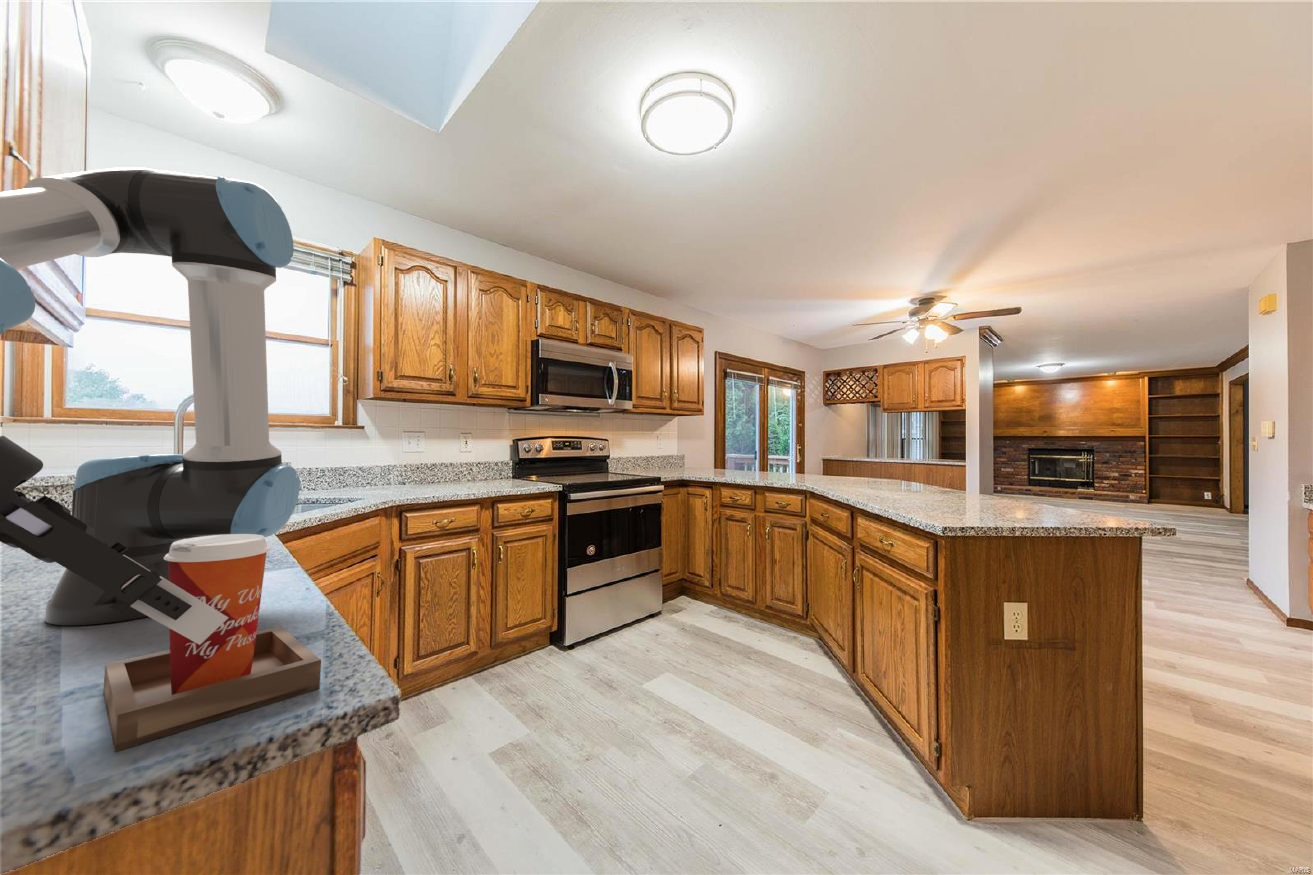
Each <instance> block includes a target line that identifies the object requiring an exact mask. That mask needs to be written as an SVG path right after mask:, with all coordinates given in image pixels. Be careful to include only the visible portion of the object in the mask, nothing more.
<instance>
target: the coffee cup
mask: <svg viewBox="0 0 1313 875" xmlns="http://www.w3.org/2000/svg"><path fill="white" fill-rule="evenodd" d="M271 550H272V549H271V546H269V545H268V543H267V540H266V537H264V536H263V535H256V534H226V535H213V536H203V537H195V538H188V539H183V540H179V541H175V542H173V543H172V544H171V547H170V550H169V553H168V554H166V555H165V557H164V560H166V561H168V569H169V581H170V582H171V583H173V584H175V585H176V586H178V587H179V588H181V589H183V590H184V591H186V592H188V593H189V594H191V595H192V596H194V597H196V598H197V599H199V600H201V601H202V602H204V603H205V604H207V605H209V606H210V607H212V608H214V609H215V610H217V611H219V612H220V613H222V614H223V615H225V616H227V617H228V619H227V620H226V621H225V622H224V623H223V624H221V625H220V626H219V627H218V628H217V629H216V630H215V631H214V632H213V633H212V634H211V635H210V636H209V637H208V638H207V639H206V640H204V641H203V642H202V643H201V644H200V645H199V644H197V643H195V642H194V641H192V640H190V639H188V638H186V637H185V636H183V635H181V634H179V633H177V632H176V631H174V630H172V629H170V628H168V629H169V650H170V674H171V691H172V695H174V694H178V693H182V692H185V691H189V690H193V689H197V688H200V687H204V686H208V685H212V684H216V683H219V682H223V681H227V680H231V679H234V678H238V677H242V676H246V675H250V674H251V669H252V663H253V656H254V648H255V641H256V633H257V631H258V623H259V618H260V617H259V615H260V609H261V600H262V599H261V598H262V592H263V582H264V577H265V576H264V575H265V568H266V562H267V561H266V560H267V553H268V552H270V551H271Z"/></svg>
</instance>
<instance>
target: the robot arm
mask: <svg viewBox="0 0 1313 875" xmlns="http://www.w3.org/2000/svg"><path fill="white" fill-rule="evenodd" d="M111 254H143V255H153V256H164V257H171V266H172V267H173V268H174V270H176V271H177V272H179V274H180V275H182V276H183V277H184V278H185V279H186V281H187V291H188V292H187V293H188V308H189V309H188V312H189V313H188V314H189V332H190V352H191V371H192V372H191V373H192V390H193V391H192V392H193V394H192V395H193V411H194V432H195V433H194V434H195V444H194V445H193V446H192V447H191V448H190V449H189V450H187V451H186V452H185V453H184V454H183V453H170V454H168V453H165V454H164V453H163V454H149V455H147V454H146V455H130V456H129V455H128V456H127V455H126V456H117V457H114V456H113V457H105V458H96V459H90V460H88V461H85V462H83V463H82V464H81V465H80V466H79V467H78V468H77V469H76V476H75V480H74V486H73V487H72V488H71V491H72V492H71V493H72V501H71V503H72V504H71V505H72V506H71V510H70V508H68V507H65V505H63V504H61V503H60V502H58V501H56V500H55V499H53V498H52V497H49V496H47V495H42V496H41V497H40V498H37V499H36V500H34V499H33V500H31V499H30V498H28V497H27V494H25V493H24V492H22V491H18V490H15V489H16V488H18V487H19V486H20V485H22V484H24V483H27V482H28V481H30V480H31V479H32V478H33V477H35V475H38V473H39V472H41V470H42V469H43V468H44V462H43V461H42V460H41V458H38V457H37V456H36V455H33V454H32V453H30V452H29V451H28V450H26V449H24V448H23V447H21V446H20V445H19V444H17V443H16V442H14V441H12V440H11V439H9V438H8V437H6V436H5V435H1V436H0V543H2V544H5V545H7V546H9V547H11V548H14V549H20V550H21V551H23V552H26V553H27V554H29V555H30V556H32V557H34V558H35V559H38V560H40V561H43V562H44V563H47V564H52V563H56V564H58V565H60V566H62V567H63V568H65V570H64V572H63V573H62V576H60V579H59V581H58V583H57V585H56V588H55V589H54V591H53V593H52V596H51V598H50V599H49V600H48V601H47V603H46V606H45V618H44V621H45V622H46V623H47V624H50V625H56V626H86V625H87V626H88V625H99V624H109V623H117V622H122V621H123V622H124V621H128V620H130V621H131V620H135V619H140V618H145V617H149V618H150V619H152V620H154V621H156V622H158V623H159V624H161V625H162V626H165V627H167V628H168V629H169V628H170V629H172V630H174V631H176V632H177V633H179V634H181V635H183V636H185V637H186V638H188V639H190V640H192V641H194V642H195V643H197V644H199V645H200V644H201V643H202V642H203V641H204V640H206V639H207V638H208V637H209V636H210V635H211V634H212V633H213V632H214V631H215V630H216V629H217V628H218V627H219V626H220V625H221V624H223V623H224V622H225V621H226V620H227V619H228V617H227V616H225V615H223V614H222V613H220V612H219V611H217V610H215V609H214V608H212V607H210V606H209V605H207V604H205V603H204V602H202V601H201V600H199V599H197V598H196V597H194V596H192V595H191V594H189V593H188V592H186V591H184V590H183V589H181V588H179V587H178V586H176V585H175V584H173V583H171V582H170V581H169V569H168V561H166V560H164V557H165V555H166V554H168V553H169V550H170V547H171V544H172V543H173V542H175V541H179V540H183V539H188V538H195V537H203V536H213V535H226V534H256V535H263V536H264V538H268V537H272V536H273V535H275V534H276V533H278V532H279V531H280V530H282V529H283V528H284V527H285V525H287V523H288V522H289V520H290V518H291V516H292V515H293V513H294V511H295V509H296V507H297V504H298V500H299V496H300V495H299V494H300V489H301V488H300V486H301V482H300V477H299V476H300V475H298V473H297V472H298V471H297V470H296V469H295V468H294V467H293V466H289V465H288V464H283V462H282V461H283V460H282V451H281V450H280V449H279V448H277V447H276V446H274V445H273V444H272V443H271V441H270V429H269V428H270V427H269V426H270V424H269V400H268V399H269V397H268V396H269V395H268V393H269V392H268V368H267V367H268V366H267V337H266V336H267V333H266V311H265V310H266V307H265V306H266V304H265V291H266V289H268V288H269V287H270V286H271V285H273V284H274V283H275V282H276V281H277V269H281V268H283V267H286V266H288V265H289V264H290V263H291V262H292V258H293V255H294V239H293V234H292V229H291V227H290V223H289V220H288V219H287V216H286V214H285V212H284V210H283V208H282V207H281V205H280V203H278V201H277V200H276V198H275V197H274V196H273V195H272V194H271V193H270V192H269V191H268V190H267V189H265V188H264V187H263V186H261V185H260V184H257V183H254V182H252V181H245V180H239V179H234V178H231V177H228V176H225V175H222V176H214V175H213V176H212V175H204V174H203V175H202V174H194V173H186V172H177V171H170V170H161V169H159V170H158V169H154V168H147V167H133V166H132V167H129V166H128V167H113V168H105V169H104V168H103V169H95V170H94V169H93V170H87V171H79V172H72V173H71V172H70V173H64V174H57V175H55V174H54V175H48V176H47V175H46V176H39V177H36V178H35V177H34V178H32V179H31V180H28V182H26V183H25V184H24V185H23V187H22V189H14V190H5V191H0V336H1V335H2V334H3V333H4V332H6V331H8V330H10V329H12V328H15V327H16V326H19V325H22V324H23V323H25V322H26V321H28V320H29V319H30V318H32V316H33V314H34V312H35V309H36V296H35V295H34V292H33V291H32V290H31V287H30V285H29V284H28V282H27V280H26V279H25V278H24V276H23V275H22V274H21V273H20V272H19V271H18V269H22V268H26V267H30V266H34V265H37V264H41V263H45V262H51V261H53V260H57V259H61V258H64V257H68V256H72V255H77V256H80V257H85V258H99V257H104V256H109V255H111Z"/></svg>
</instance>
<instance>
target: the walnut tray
mask: <svg viewBox="0 0 1313 875" xmlns="http://www.w3.org/2000/svg"><path fill="white" fill-rule="evenodd" d="M321 668H322V659H321V658H320V657H319V656H317V655H316V654H315V653H314V652H312V651H311V650H310V649H309V648H308V647H306V646H305V645H304V644H303V643H301V642H300V641H299V640H298V639H297V638H296V637H295V636H293V635H292V634H291V633H289V632H288V631H287V630H286V629H285V628H284V627H282V626H276V627H271V628H267V629H261V630H257V633H256V641H255V648H254V656H253V663H252V669H251V674H250V675H246V676H242V677H238V678H234V679H231V680H227V681H223V682H219V683H216V684H212V685H208V686H204V687H200V688H197V689H193V690H189V691H185V692H182V693H178V694H174V695H172V691H171V674H170V649H168V650H162V651H158V652H154V653H153V652H152V653H148V654H144V655H140V656H139V655H138V656H135V657H130V658H125V659H121V660H115V661H111V662H107V663H105V664H104V677H103V679H104V680H103V694H102V695H103V698H104V704H105V709H106V714H107V719H108V723H109V729H110V733H111V738H112V743H113V747H114V752H120V751H123V750H127V749H129V748H133V747H136V746H139V745H141V744H145V743H149V742H153V741H155V740H159V739H161V738H164V737H168V736H171V735H175V734H178V733H181V732H184V731H187V730H190V729H194V728H197V727H200V726H204V725H207V724H210V723H213V722H216V721H219V720H223V719H226V718H230V717H233V716H235V715H238V714H243V713H245V712H248V711H252V710H256V709H258V708H262V707H264V706H268V705H271V704H274V703H278V702H280V701H281V702H282V701H284V700H287V699H290V698H294V697H298V696H300V695H304V694H306V693H309V692H313V691H316V690H319V689H321V687H320V686H321V672H322V671H321Z"/></svg>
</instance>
